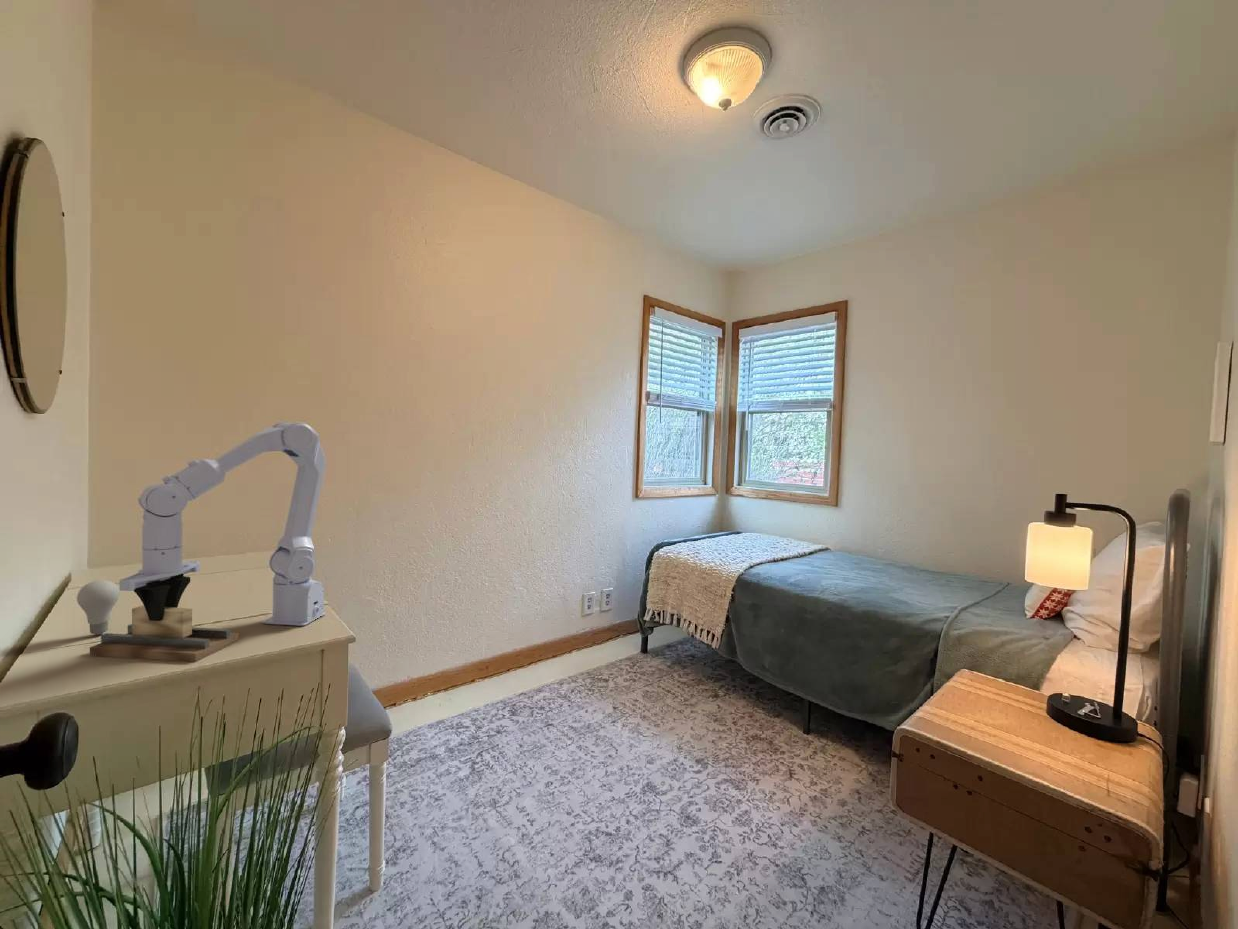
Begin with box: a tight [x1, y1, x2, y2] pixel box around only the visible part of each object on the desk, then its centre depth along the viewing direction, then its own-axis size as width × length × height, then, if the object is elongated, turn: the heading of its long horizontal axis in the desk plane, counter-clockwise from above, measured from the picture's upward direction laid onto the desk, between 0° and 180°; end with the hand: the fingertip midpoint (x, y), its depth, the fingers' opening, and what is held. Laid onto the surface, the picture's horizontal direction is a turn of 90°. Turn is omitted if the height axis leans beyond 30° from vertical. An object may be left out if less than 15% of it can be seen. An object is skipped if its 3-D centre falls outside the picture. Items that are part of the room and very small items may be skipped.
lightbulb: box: [76, 579, 121, 636], centre depth 104 cm, size 6×6×11 cm
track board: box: [89, 623, 239, 663], centre depth 99 cm, size 20×10×3 cm, turn 88°
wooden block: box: [131, 605, 193, 638], centre depth 99 cm, size 10×2×5 cm, turn 88°
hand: (162, 617), depth 99 cm, fingers closed on wooden block, 2 cm apart
